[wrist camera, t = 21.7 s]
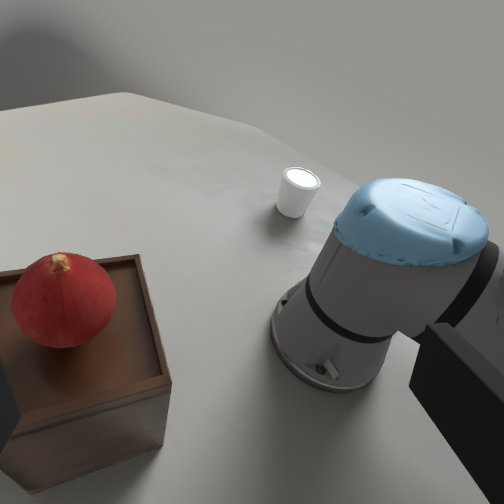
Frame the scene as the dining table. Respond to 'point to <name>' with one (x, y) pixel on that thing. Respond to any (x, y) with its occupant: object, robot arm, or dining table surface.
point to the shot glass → (296, 191)
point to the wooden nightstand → (86, 387)
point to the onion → (63, 300)
